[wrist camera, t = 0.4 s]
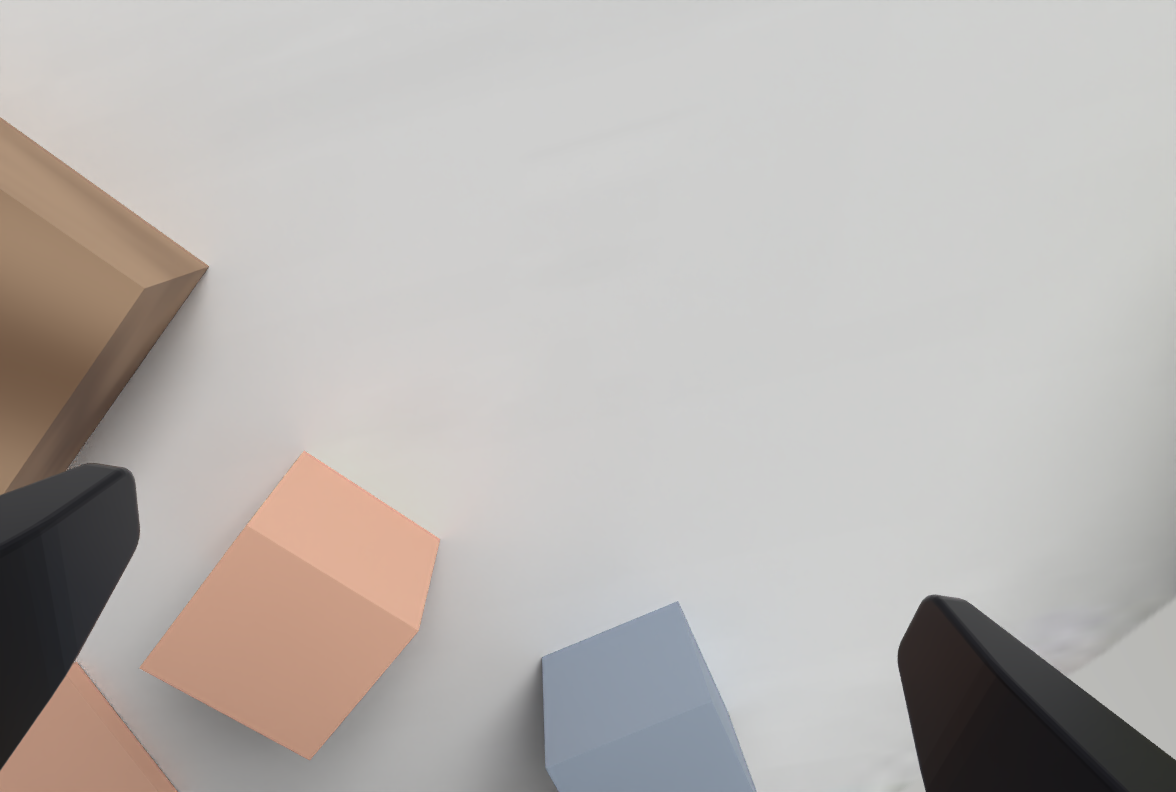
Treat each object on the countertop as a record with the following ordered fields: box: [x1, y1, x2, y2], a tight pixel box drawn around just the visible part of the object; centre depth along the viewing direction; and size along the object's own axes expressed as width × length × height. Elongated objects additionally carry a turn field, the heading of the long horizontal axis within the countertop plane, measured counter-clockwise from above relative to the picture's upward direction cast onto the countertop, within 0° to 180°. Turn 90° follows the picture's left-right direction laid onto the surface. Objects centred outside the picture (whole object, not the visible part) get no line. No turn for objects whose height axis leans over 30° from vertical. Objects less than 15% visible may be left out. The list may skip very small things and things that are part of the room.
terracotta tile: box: [0, 662, 177, 792], centre depth 25 cm, size 6×6×1 cm
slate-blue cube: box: [542, 601, 757, 792], centre depth 24 cm, size 5×5×5 cm
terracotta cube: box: [140, 451, 440, 760], centre depth 22 cm, size 5×5×5 cm
